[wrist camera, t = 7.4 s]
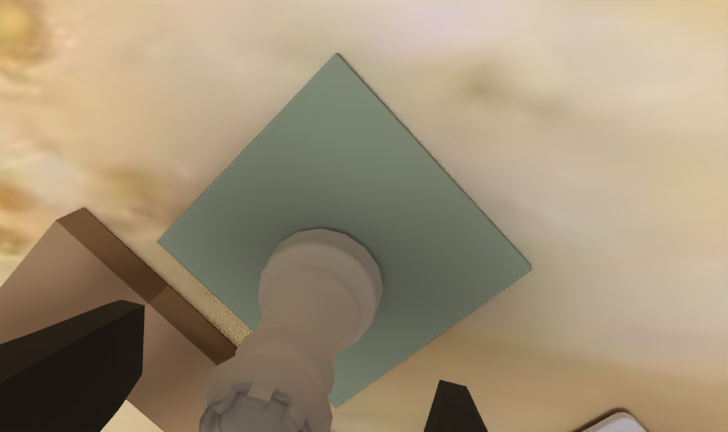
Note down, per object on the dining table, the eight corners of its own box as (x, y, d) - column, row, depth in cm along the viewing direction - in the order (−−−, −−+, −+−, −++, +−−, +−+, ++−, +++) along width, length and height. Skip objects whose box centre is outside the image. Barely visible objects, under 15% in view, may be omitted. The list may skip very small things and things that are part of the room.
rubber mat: (530, 264, 17) (532, 268, 17) (337, 401, 21) (335, 408, 20) (338, 53, 16) (336, 53, 15) (162, 237, 19) (157, 241, 19)
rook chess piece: (290, 204, 17) (183, 324, 10) (403, 253, 17) (382, 409, 10) (254, 302, 19) (138, 469, 11) (357, 347, 19) (309, 542, 12)
